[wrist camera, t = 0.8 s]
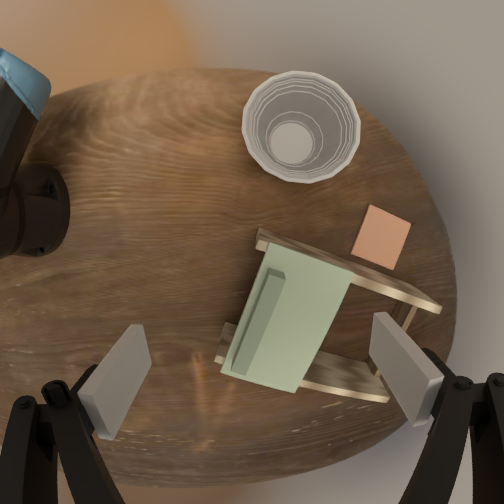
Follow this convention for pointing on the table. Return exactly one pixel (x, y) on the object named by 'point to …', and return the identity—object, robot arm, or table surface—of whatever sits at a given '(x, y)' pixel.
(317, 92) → the plastic cup
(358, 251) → the terracotta coaster
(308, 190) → the table surface
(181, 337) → the table surface
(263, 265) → the cover
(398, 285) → the wooden box
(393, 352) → the robot arm
